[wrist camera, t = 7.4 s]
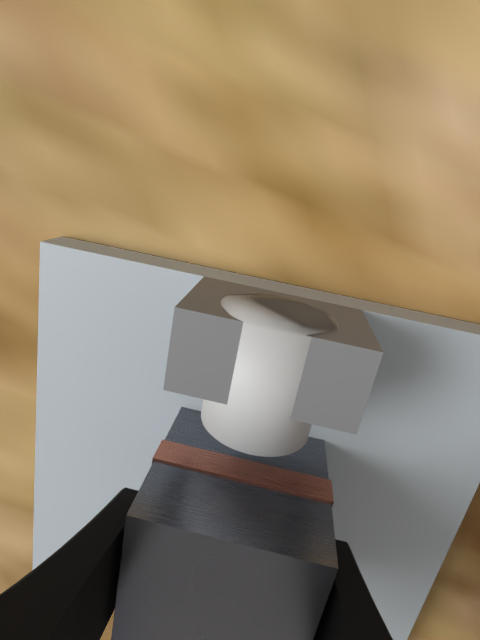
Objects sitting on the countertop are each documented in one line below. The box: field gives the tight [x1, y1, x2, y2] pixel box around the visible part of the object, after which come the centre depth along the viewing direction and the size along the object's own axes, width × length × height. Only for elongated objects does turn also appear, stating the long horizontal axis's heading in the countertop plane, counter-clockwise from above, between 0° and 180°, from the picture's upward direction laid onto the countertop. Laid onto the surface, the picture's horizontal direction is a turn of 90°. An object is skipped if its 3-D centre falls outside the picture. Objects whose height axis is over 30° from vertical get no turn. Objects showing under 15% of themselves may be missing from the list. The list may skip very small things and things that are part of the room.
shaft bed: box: [33, 236, 480, 640], centre depth 13 cm, size 13×14×4 cm
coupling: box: [111, 407, 338, 640], centre depth 12 cm, size 5×5×4 cm
